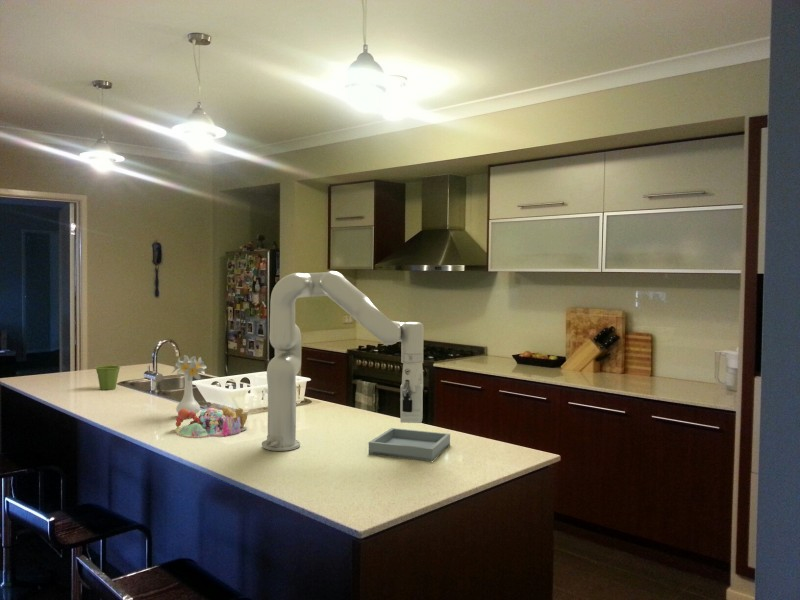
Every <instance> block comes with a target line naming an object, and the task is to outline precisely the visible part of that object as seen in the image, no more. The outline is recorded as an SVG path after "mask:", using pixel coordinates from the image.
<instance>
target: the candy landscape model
mask: <svg viewBox="0 0 800 600" xmlns="http://www.w3.org/2000/svg"><path fill="white" fill-rule="evenodd" d="M188 417H189V418H188ZM187 419H192V420H191V421H190V422H189V424H186V425H182V423H183V422H184V421H186V420H187ZM247 419H248V413H247V412H245V413H244V409H243V408H242V407H238V408H235V411H233V410H232V409H231V408H230V407H228V406H222V407H221V409H217V408H214V407H209V408H207V410H201V412H200V413H199V416H197V413H195V412H193V411H191V412H190V413H189V411H188V410H187V409H181V410H180V411H179V412H177V417H176V419H175V422H176V423H175V426H176V428H175V429H174V433H175V434H176V435H178V436H179V437H183V438H191V439H203V438H209V437H227V436H231V435H236V434H237V435H238V433H239V434H241V432H243V431H245V430H247V429H248V428H247V427H246V426H245V424H246V422H247ZM181 425H182V426H181Z"/></svg>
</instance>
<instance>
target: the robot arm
mask: <svg viewBox="0 0 800 600" xmlns="http://www.w3.org/2000/svg"><path fill="white" fill-rule="evenodd" d="M308 297H309V298H310V297H328V298H329V299H330V300H332V302H334V303H335V304H336V305H338V306H339V307H340V308H341V309H342V310H344V311H345V312H346V313H347V314H348V315H349V316H351V317H352V318H353V320H354V321H356V322H357V323H359V324H360V325H361V326H362V327H364V329H366V330H367V331H368V332H369V333H370V334H371V335H373V336H374V337H375V338H376V339H377V340H379V341H380V342H381V343H382V344H385V345H387V346H388V345H389V346H390V345H392V346H393V345H394V344H397V342H400V343H401V346H400V347H401V349H400V351H401V354H400V355H401V357H400V359H401V361H400V363H402V372H401V373H402V374H401V384H402V392H403V394H402V395H403V398H402V399H403V412H412V400H411V398H412V392H414V393H417V386H418V385H420V384H423V385H424V368H423V364H424V337H425V335H424V333H425V331H424V330H425V329H424V328H425V327H424V324H423V323H422V322H419V321H407V322H402V321H401V322H400V321H394V320H391V319H389V318H388V316H386V314H384V313H383V312H382V311H380V310H379V309H378V308H377V306H375V305H374V304H373V303H372V301H371V300H370V298H369V297H368V296H367V294H365V293H363V292H362V291H361V290H359V289H358V288H357V287H356V286H355V285H354V284H353V283H351V281H349V280H348V279H347V278H346V277H345V276H344V275H343V274H342V273H341V272H339V271H336V270H329V271H326V272H304V273H303V272H293V273H290V274H287V275H285V276H284V277H282V278H281V279H279V280H278V281H277V282H276V284H275V285H274V287H273V288H272V291H271V295H270V310H269V312H270V313H269V337H268V338H269V343H270V345H271V347H272V348H273V349H274V357H273V358H271V359H270V360H269V362H268V365H267V368H266V381H267V435H266V440H263V441H261V446H262V447H263V449H265V450H268V451H272V452H283V451H285V452H286V451H293V450H296V449H298V448H299V447H301V442H300V441H299V440H297V438H296V437H297V436H296V435H297V434H296V433H297V431H296V429H297V384H296V376H297V375H298V373H300V370H301V368H302V333H301V330H300V327H299V326H298V325H297V324H296V301H297V300H298V299H299V298H301V299H302V298H308ZM408 386H410V389H411V391H407V389H408ZM408 393H409V394H410V395H409V394H408Z"/></svg>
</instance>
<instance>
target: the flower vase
mask: <svg viewBox="0 0 800 600" xmlns="http://www.w3.org/2000/svg"><path fill="white" fill-rule="evenodd" d="M206 369H207V365H206V364H205V362H204V360H202V357H201V356H199V357H198V360H197V357H196V355H195V356H194V355H193V356H192V357H189V356H188V355H186V354H184V355H183V360H180V357H178V358H177V362H176V363H175V366H174V367H173V371H172V372H171V374H173V373H175V371H176V375H181V374H183V377H184V389H183V390H184V391H183V395H182V396H183V397H182V399H181V400H180V401H179V402H178V403H177V406H176V413H178V412H179V411H180V410H181V409H187V410H188V411H189V413H190V412H191V411H193V412H195V413H196V414H198V413H199V412H200V410H201V406H200V404H199V403H198V401H197V400H196V398H195V397H194V392H193V378H195V380H198V381H200V380H201V379H202V378H201V375H200V373H201V374H203V375H206ZM187 419H190V418H189V417H188V418H187Z"/></svg>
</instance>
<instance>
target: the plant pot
mask: <svg viewBox="0 0 800 600" xmlns="http://www.w3.org/2000/svg"><path fill="white" fill-rule="evenodd" d="M94 368H95V370H96V374H97V379H98V384H99V390H101V391H105V390H109V391H112V390H115V389H116V388H117V382H118V377H119V372H120V369H121V365H103V366H95V367H94Z"/></svg>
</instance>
